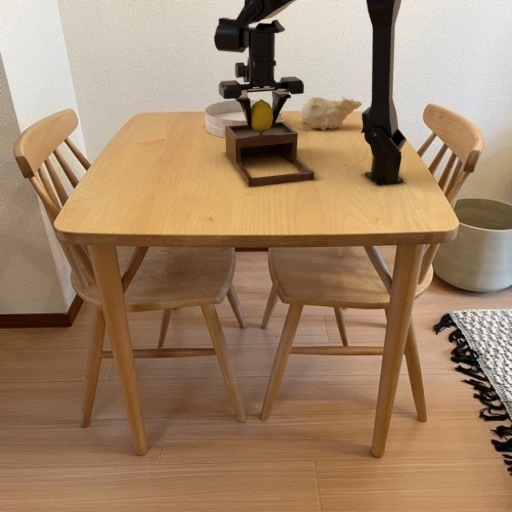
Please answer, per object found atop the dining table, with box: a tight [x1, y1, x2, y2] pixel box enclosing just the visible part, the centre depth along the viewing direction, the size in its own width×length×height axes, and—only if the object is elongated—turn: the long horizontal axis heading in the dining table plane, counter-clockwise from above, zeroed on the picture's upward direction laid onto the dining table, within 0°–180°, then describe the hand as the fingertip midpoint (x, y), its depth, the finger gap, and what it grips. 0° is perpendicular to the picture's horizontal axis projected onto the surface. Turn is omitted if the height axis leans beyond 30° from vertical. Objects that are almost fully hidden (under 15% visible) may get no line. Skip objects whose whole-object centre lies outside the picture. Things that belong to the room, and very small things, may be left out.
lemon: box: [251, 99, 273, 134], centre depth 112 cm, size 6×6×8 cm
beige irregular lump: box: [300, 96, 363, 131], centre depth 136 cm, size 15×7×15 cm
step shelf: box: [225, 120, 315, 187], centre depth 111 cm, size 21×15×7 cm
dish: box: [204, 99, 283, 139], centre depth 137 cm, size 22×22×5 cm
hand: (261, 125), depth 113 cm, fingers closed on lemon, 5 cm apart
